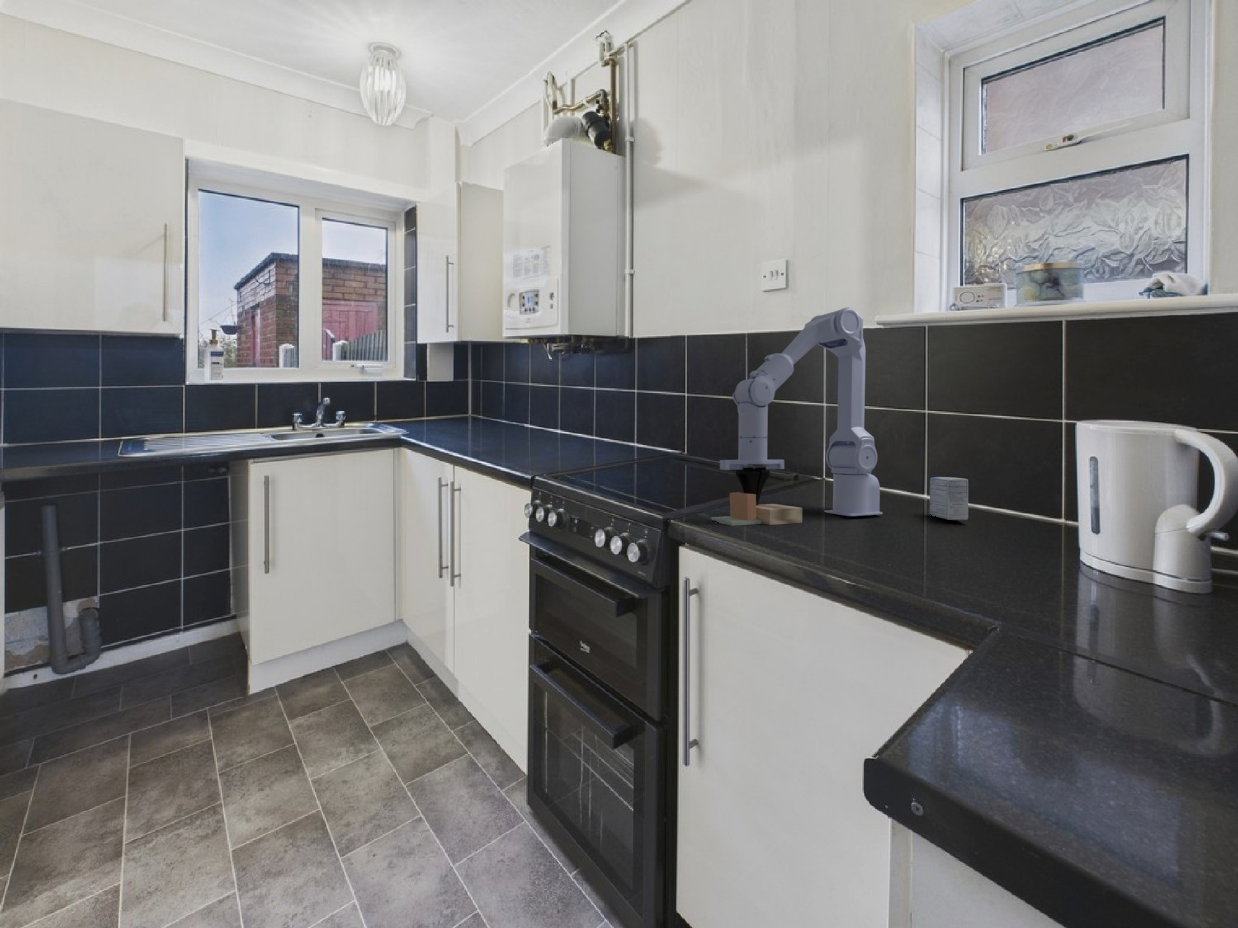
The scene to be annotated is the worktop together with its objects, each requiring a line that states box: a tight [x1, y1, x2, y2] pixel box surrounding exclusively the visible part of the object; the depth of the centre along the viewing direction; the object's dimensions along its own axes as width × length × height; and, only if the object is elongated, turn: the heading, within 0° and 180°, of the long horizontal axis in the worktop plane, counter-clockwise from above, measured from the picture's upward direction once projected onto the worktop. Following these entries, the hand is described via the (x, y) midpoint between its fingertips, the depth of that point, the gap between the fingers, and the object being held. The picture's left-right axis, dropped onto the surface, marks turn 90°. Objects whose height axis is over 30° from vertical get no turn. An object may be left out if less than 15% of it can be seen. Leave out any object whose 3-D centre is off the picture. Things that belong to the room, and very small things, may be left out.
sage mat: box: [710, 516, 763, 527], centre depth 122 cm, size 7×8×1 cm
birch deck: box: [756, 503, 803, 526], centre depth 124 cm, size 8×9×3 cm
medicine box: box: [929, 476, 969, 521], centre depth 131 cm, size 8×4×9 cm, turn 179°
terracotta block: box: [729, 491, 757, 521], centre depth 122 cm, size 5×6×2 cm
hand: (752, 505), depth 123 cm, fingers closed
